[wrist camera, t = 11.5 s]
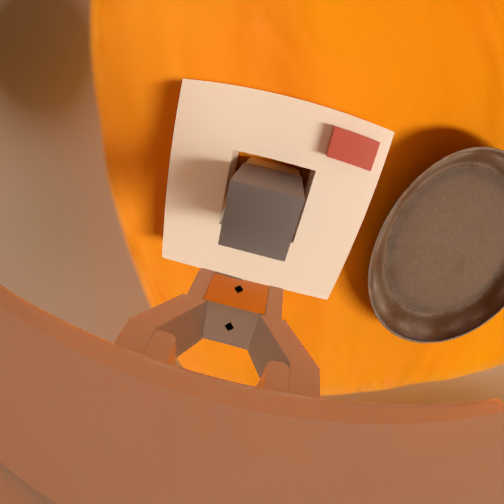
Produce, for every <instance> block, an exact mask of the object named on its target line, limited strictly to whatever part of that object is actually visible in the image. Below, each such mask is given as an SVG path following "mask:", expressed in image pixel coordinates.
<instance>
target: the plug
mask: <svg viewBox="0 0 504 504" xmlns="http://www.w3.org/2000/svg"><path fill="white" fill-rule="evenodd" d="M304 200H305V196H304V188H303V180H302V177H301V176H300V171H299V169H297V168H293V167H289V166H286V165H282V164H278V163H274V162H270V161H266V160H262V159H258V158H254V157H250V158H249V159H248V160H247V162H244V163H243V164H242V165H241V166H240V168H239V169H238V170H237V172H236V173H235V174H234V175H233V177H232V178H231V179H230V183H229V188H228V193H227V198H226V204H225V209H224V214H223V219H222V225H221V230H220V236H219V241H218V245H222V246H226V247H230V248H233V249H237V250H241V251H245V252H249V253H253V254H257V255H260V256H264V257H268V258H272V259H276V260H280V261H284V262H285V259H286V256H287V253H288V250H289V247H290V244H291V241H292V238H293V235H294V232H295V228H296V225H297V222H298V219H299V216H300V213H301V210H302V207H303V204H304Z"/></svg>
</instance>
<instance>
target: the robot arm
mask: <svg viewBox="0 0 504 504" xmlns="http://www.w3.org/2000/svg"><path fill="white" fill-rule="evenodd" d="M282 302H283V289H282V288H279V287H274V286H270V285H269V286H268V285H264V284H260V283H256V282H252V281H248V280H244V279H241V278H237V277H234V276H230V275H227V274H223V273H220V272H216V271H212V270H209V269H205V268H201V269H200V270H199V272H198V274H197V276H196V278H195V280H194V282H193V284H192V286H191V288H190V290H189V292H188V294H187V295H186V294H182V295H179V296H177V297H175V298H173V299H171V300H169V301H166V302H164V303H162V304H160V305H158V306H156V307H153V308H151V309H149V310H147V311H145V312H143V313H140V314H138V315H136V316H134V317H131V318H129V320H128V321H127V323H126V325H125V326H124V328H123V330H122V331H121V333H120V334H119V336H118V337H117V339H116V341H115V342H114V343H112V342H109V341H107V340H105V339H102V338H100V337H98V336H95V335H93V334H91V333H88V332H87V331H84V330H82V329H80V328H78V327H76V326H74V325H72V324H70V323H68V322H65V321H63V320H61V319H59V318H58V317H56V316H54V315H52V314H50V313H48V312H46V311H44V310H42V309H41V308H39V307H37V306H35V305H33V304H32V303H30V302H28V301H26V300H24V299H23V298H21V297H19V296H18V295H16V294H15V293H13V292H11V291H9V290H8V289H6V288H5V287H3V286H2V285H0V504H504V403H503V402H502V401H501V400H499V399H489V400H482V401H472V402H461V403H446V404H445V403H444V404H382V403H365V402H352V401H341V400H332V399H324V398H320V374H319V367H318V366H317V365H316V363H315V362H314V360H313V359H312V358H311V356H310V355H309V353H308V352H307V351H306V349H305V348H304V346H303V345H302V344H301V342H300V341H299V339H298V338H297V336H296V335H295V334H294V332H293V331H292V329H291V328H290V327H289V325H288V324H287V322H286V321H285V320H282V319H281V315H282ZM202 338H205V339H209V340H213V341H217V342H221V343H225V342H226V343H225V344H229V345H232V346H236V347H239V348H243V349H247V350H248V352H249V354H250V357H251V359H252V361H253V363H254V366H255V368H256V370H257V373H258V375H259V377H260V380H259V382H258V384H257V386H256V387H254V386H249V385H245V384H240V383H236V382H232V381H228V380H224V379H220V378H216V377H212V376H209V375H205V374H201V373H198V372H194V371H191V370H188V369H184V368H181V367H178V366H175V358H177V357H178V356H179V355H181V354H182V353H183V352H185V351H186V350H188V349H189V348H190V347H192V346H193V345H194V344H196V343H197V342H198V341H200V340H201V339H202Z"/></svg>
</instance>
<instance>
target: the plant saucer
mask: <svg viewBox="0 0 504 504" xmlns="http://www.w3.org/2000/svg"><path fill="white" fill-rule="evenodd" d="M368 292H369V298H370V302H371V305H372V308H373V311H374V313H375V315H376V316H377V318H378V320H379V321H380V322H381V324H382V325H383V326H384V327H385V328H386V329H387V330H389V331H390V332H391V333H393V334H394V335H396V336H398V337H400V338H402V339H405V340H408V341H412V342H417V343H437V342H444V341H448V340H451V339H455V338H458V337H461V336H463V335H465V334H468V333H470V332H472V331H473V330H475V329H477V328H479V327H480V326H482V325H483V324H485V323H486V322H488V321H489V320H490V319H491V318H493V317H494V316H495V315H496V314H497V313H498V312H500V311H501V310H502V309H503V308H504V151H503V150H500V149H497V148H492V147H471V148H467V149H463V150H460V151H457V152H454V153H452V154H450V155H448V156H446V157H444V158H442V159H440V160H439V161H437V162H436V163H434V164H433V165H431V166H430V167H429V168H427V169H426V170H425V171H424V172H422V173H421V174H420V175H419V176H418V177H417V178H416V179H415V180H414V181H413V182H412V183H411V184H410V185H409V186H408V187H407V188H406V190H405V191H404V192H403V193H402V194H401V196H400V197H399V198H398V200H397V201H396V203H395V204H394V206H393V207H392V209H391V210H390V212H389V214H388V216H387V217H386V219H385V221H384V223H383V225H382V227H381V229H380V232H379V234H378V237H377V239H376V242H375V245H374V248H373V251H372V255H371V259H370V264H369V270H368Z"/></svg>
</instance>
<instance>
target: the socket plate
mask: <svg viewBox="0 0 504 504" xmlns="http://www.w3.org/2000/svg"><path fill="white" fill-rule="evenodd" d="M393 135H394V132H393V131H390V130H388V129H386V128H383V127H381V126H378V125H376V124H373V123H371V122H368V121H365V120H363V119H360V118H357V117H354V116H352V115H349V114H346V113H343V112H340V111H337V110H334V109H331V108H328V107H324V106H321V105H318V104H314V103H311V102H307V101H304V100H300V99H296V98H292V97H288V96H284V95H280V94H276V93H271V92H267V91H262V90H257V89H252V88H247V87H241V86H236V85H230V84H223V83H216V82H209V81H200V80H191V79H183V81H182V86H181V91H180V97H179V102H178V108H177V114H176V120H175V126H174V133H173V140H172V148H171V155H170V164H169V172H168V182H167V192H166V203H165V216H164V231H163V251H162V257H163V258H167V259H170V260H174V261H177V262H181V263H185V264H188V265H192V266H196V267H199V268H205V269H209V270H212V271H216V272H220V273H223V274H227V275H230V276H234V277H237V278H241V279H245V280H248V281H252V282H256V283H260V284H264V285H268V286H269V285H270V286H274V287H279V288H282V289H284V290H288V291H292V292H297V293H301V294H305V295H309V296H313V297H317V298H322V299H326V300H327V299H328V297H329V295H330V293H331V291H332V289H333V287H334V285H335V283H336V281H337V278H338V276H339V274H340V272H341V270H342V268H343V265H344V263H345V261H346V259H347V257H348V254H349V252H350V250H351V248H352V245H353V243H354V241H355V238H356V236H357V233H358V231H359V229H360V226H361V224H362V221H363V219H364V216H365V214H366V211H367V209H368V206H369V204H370V201H371V199H372V196H373V193H374V191H375V188H376V185H377V183H378V180H379V177H380V174H381V171H382V169H383V166H384V163H385V160H386V157H387V154H388V151H389V148H390V145H391V142H392V139H393ZM239 151H241V152H245V153H249V154H254V155H258V156H262V157H266V158H270V159H274V160H278V161H282V162H286V163H289V164H293V165H297V166H300V167H304V168H307V169H310V172H309V176H308V179H307V182H306V186H305V189H304V196H305V200H304V204H303V207H302V210H301V213H300V216H299V219H298V222H297V225H296V228H295V232H294V235H293V238H292V241H291V244H290V247H289V250H288V253H287V256H286V259H285V262H284V261H280V260H276V259H272V258H268V257H264V256H260V255H257V254H253V253H249V252H245V251H241V250H237V249H233V248H230V247H226V246H222V245H218V241H219V236H220V230H221V225H222V219H223V214H224V209H225V204H226V198H227V193H228V188H229V183H230V179H231V178H232V177H233V175H234V174H235V169H236V164H237V160H238V155H239Z"/></svg>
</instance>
